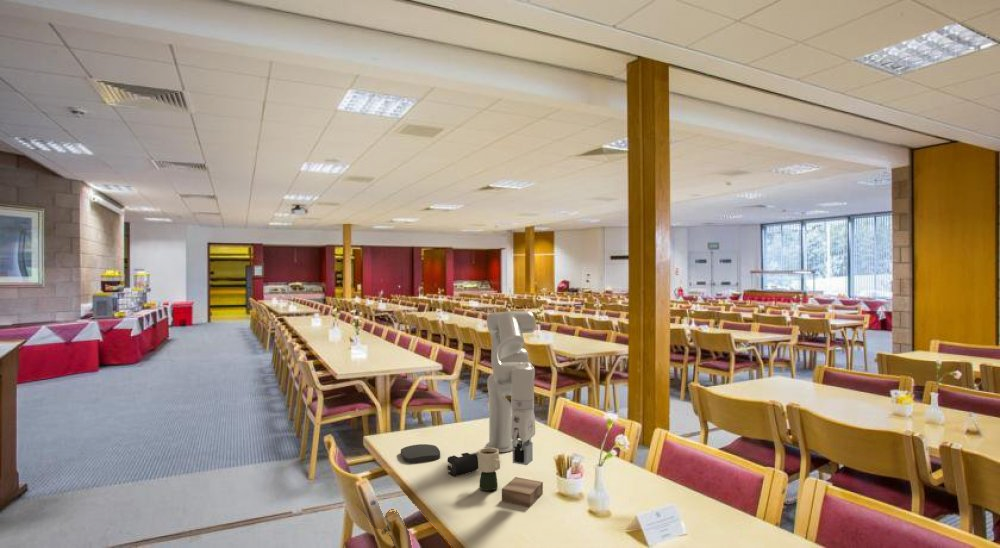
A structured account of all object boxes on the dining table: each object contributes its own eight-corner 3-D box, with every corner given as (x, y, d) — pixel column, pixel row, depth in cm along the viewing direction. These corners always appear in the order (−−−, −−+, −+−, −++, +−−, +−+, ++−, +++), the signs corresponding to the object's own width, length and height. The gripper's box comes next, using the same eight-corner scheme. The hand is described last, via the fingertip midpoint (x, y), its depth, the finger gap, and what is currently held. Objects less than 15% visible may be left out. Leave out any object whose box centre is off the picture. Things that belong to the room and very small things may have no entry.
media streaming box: (442, 460, 209) (442, 452, 209) (405, 465, 204) (405, 457, 204) (433, 449, 223) (433, 441, 223) (399, 453, 218) (399, 446, 218)
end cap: (456, 480, 189) (456, 461, 189) (446, 474, 195) (446, 455, 195) (479, 473, 195) (479, 455, 195) (469, 468, 200) (469, 450, 200)
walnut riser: (515, 488, 181) (515, 476, 181) (542, 493, 177) (542, 482, 177) (501, 501, 171) (501, 488, 171) (530, 507, 167) (530, 494, 167)
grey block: (532, 460, 175) (532, 442, 175) (526, 465, 170) (526, 446, 170) (518, 458, 177) (518, 440, 177) (512, 463, 173) (512, 444, 173)
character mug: (507, 490, 179) (507, 452, 179) (491, 496, 175) (491, 457, 175) (485, 481, 187) (485, 444, 187) (470, 486, 183) (470, 449, 183)
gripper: (522, 411, 165) (522, 469, 164) (542, 399, 180) (542, 453, 180) (501, 408, 168) (501, 465, 168) (522, 397, 183) (522, 450, 183)
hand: (522, 458), depth 174 cm, fingers closed on grey block, 5 cm apart
